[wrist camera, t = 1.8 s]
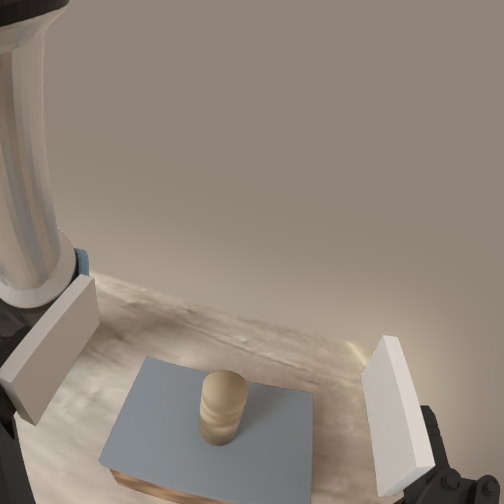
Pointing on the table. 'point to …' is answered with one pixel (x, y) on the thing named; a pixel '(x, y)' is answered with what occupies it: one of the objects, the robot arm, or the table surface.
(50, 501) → the table surface
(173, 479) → the lid
